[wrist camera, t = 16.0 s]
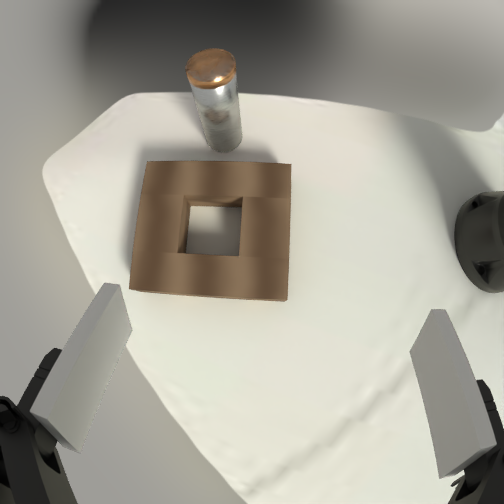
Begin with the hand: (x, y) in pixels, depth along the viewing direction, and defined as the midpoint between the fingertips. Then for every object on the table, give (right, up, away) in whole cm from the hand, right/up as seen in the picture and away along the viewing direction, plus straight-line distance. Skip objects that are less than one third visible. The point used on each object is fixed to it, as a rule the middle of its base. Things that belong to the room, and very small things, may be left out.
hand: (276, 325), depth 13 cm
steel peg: (-5, +19, +30) cm, 36 cm away
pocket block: (-6, +5, +28) cm, 29 cm away
